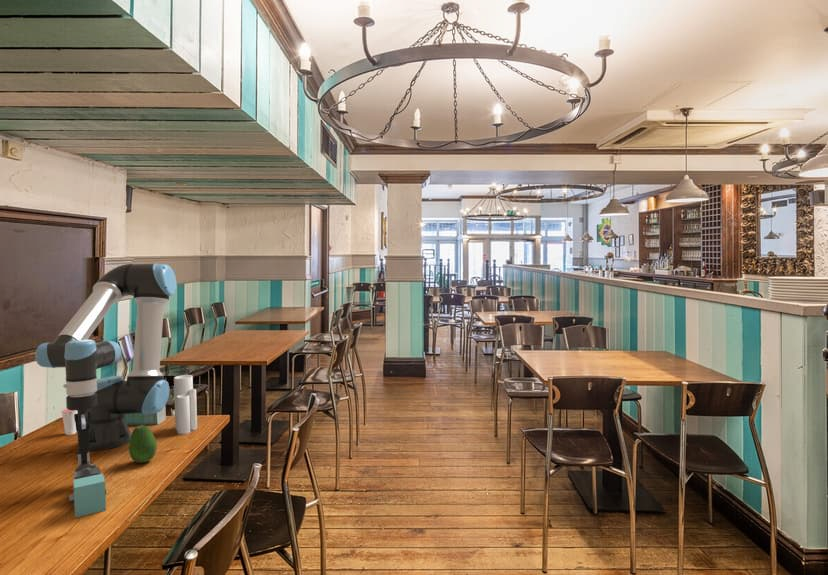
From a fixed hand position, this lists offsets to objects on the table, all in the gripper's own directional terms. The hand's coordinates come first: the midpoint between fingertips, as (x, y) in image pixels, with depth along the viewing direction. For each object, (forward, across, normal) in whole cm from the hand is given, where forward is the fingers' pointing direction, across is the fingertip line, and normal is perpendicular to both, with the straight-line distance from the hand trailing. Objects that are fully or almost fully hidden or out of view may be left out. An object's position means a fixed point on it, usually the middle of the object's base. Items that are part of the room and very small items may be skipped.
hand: (84, 474), depth 147 cm
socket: (+3, +20, 0) cm, 20 cm away
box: (+3, -54, +23) cm, 59 cm away
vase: (+3, -34, +34) cm, 49 cm away
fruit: (+3, -7, +16) cm, 18 cm away
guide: (+3, +10, 0) cm, 11 cm away
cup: (+3, -55, -2) cm, 55 cm away
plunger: (+2, +10, 0) cm, 10 cm away
